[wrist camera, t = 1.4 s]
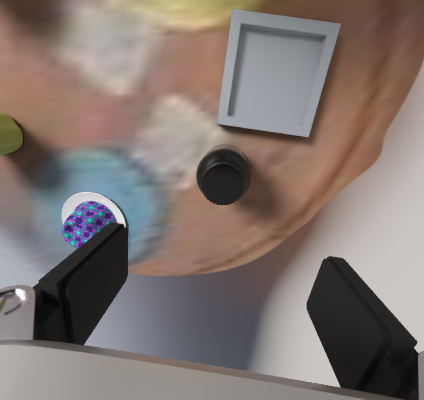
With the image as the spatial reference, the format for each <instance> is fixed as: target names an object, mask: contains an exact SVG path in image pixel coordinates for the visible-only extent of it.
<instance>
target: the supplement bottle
mask: <svg viewBox="0 0 424 400" xmlns="http://www.w3.org/2000/svg"><path fill="white" fill-rule="evenodd" d="M196 179H197V184H198V186H199V189H200V190H201V192H202V193H203V194H204V196H205V197H206V198H207V199H208V200H209V201H210V202H213V203H214V204H217V205H228V204H231V203H234V202H235V201H237V200H238V199H239V198H240V197H242V196H243V195H244V194H245V192H246V191H247V189H248V188H249V185H250V182H251V170H250V166H249V164H248V162H247V160H246V158H245V156H244V155H243V153H242V152H241V151H240V150H239V149H238V148H236V147H235V146H232V145H228V144H222V145H218V146H215V147H213V148H212V149H211V150H210V151H209V152H208V153H207V154H206V155H205V156H204V157H203V159H202V160H201V162H200V163H199V165H198V168H197V173H196Z"/></svg>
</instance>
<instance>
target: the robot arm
mask: <svg viewBox="0 0 424 400" xmlns="http://www.w3.org/2000/svg"><path fill="white" fill-rule="evenodd" d="M127 276H128V229H127V228H126V227H125V226H124V224H121V223H114V222H110V223H109V224H107V225H106V226H105V227H104V228H102V229H101V230H100V231H99V232H98V233H96V234H95V235H94V236H93V237H91V238H90V239H89V240H88V241H87V242H85V243H84V244H83V245H82V246H80V247H79V248H78V249H77V250H75V251H74V252H73V253H72V254H71V255H69V256H68V257H67V258H66V259H64V260H63V261H62V262H61V263H60V264H58V265H57V266H56V267H55V268H53V269H52V270H51V271H50V272H49V273H47V274H46V275H45V276H44V277H42V278H41V279H40V280H39V283H38V284H37V285H35V286H34V287H33V288H31V287H29V286H25V285H16V286H10V287H6V288H3V289H0V400H424V351H423V352H420V353H418V352H417V351H416V350H415V349H414V347H415V345H416V344H417V341H416V340H415V339H414V337H413V336H412V335H411V334H410V333H409V332H408V331H407V330H406V328H405V327H404V326H403V325H402V324H401V323H400V322H399V321H398V319H397V318H396V317H395V316H394V315H393V314H392V313H391V312H390V310H389V309H388V308H387V307H386V306H385V305H384V304H383V302H382V301H381V300H380V299H379V298H378V297H377V296H376V295H375V293H374V292H373V291H372V290H371V289H370V288H369V287H368V285H366V283H365V282H364V281H363V280H362V279H361V278H360V277H359V275H358V274H357V273H356V272H355V271H354V270H353V269H352V267H351V266H350V265H349V264H348V263H347V262H346V261H345V260H344V259H343V258H338V257H332V256H329V257H327V259H324V260H323V262H322V264H321V267H320V269H319V272H318V275H317V277H316V280H315V283H314V285H313V288H312V290H311V293H310V296H309V298H308V301H307V311H308V313H309V315H310V318H311V320H312V322H313V325H314V327H315V329H316V332H317V334H318V336H319V338H320V341H321V343H322V345H323V348H324V350H325V352H326V354H327V357H328V359H329V362H330V364H331V366H332V368H333V371H334V373H335V375H336V378H337V380H338V382H339V384H340V387H341V388H340V387H333V386H328V385H323V384H317V383H311V382H305V381H300V380H293V379H288V378H282V377H277V376H270V375H264V374H259V373H253V372H247V371H241V370H235V369H229V368H223V367H217V366H211V365H205V364H199V363H193V362H187V361H181V360H175V359H169V358H162V357H156V356H150V355H144V354H138V353H132V352H125V351H118V350H113V349H106V348H99V347H92V346H85V345H84V344H85V342H86V341H87V339H88V338H89V336H90V335H91V333H92V332H93V330H94V329H95V327H96V326H97V324H98V322H99V321H100V319H101V318H102V316H103V315H104V313H105V312H106V310H107V309H108V307H109V306H110V304H111V303H112V301H113V300H114V298H115V297H116V295H117V294H118V292H119V291H120V289H121V287H122V286H123V284H124V283H125V281H126V279H127Z"/></svg>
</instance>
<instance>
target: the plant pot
mask: <svg viewBox="0 0 424 400" xmlns="http://www.w3.org/2000/svg"><path fill="white" fill-rule="evenodd" d="M22 142H23V135H22V131H21V129H20V128H19V127H18V126H17V125H16V123H15V122H14V120H13V119H12V118H11V117H10V116H8V115H6V114H4V113H0V155H3V154H7V153H10V152H14V151H16V150H17V149H19V148H20V147H21V145H22Z"/></svg>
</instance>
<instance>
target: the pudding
mask: <svg viewBox="0 0 424 400" xmlns="http://www.w3.org/2000/svg"><path fill="white" fill-rule="evenodd" d="M85 201H91V202H88V203H87V204H86V205H85V204H80V203H82V202H85ZM93 201H96V202H99V203H102V204H104V205H105V206H104V205H98V204H97V203H96V202H93ZM79 204H80V205H79ZM77 206H78V207H77ZM106 206H107V207H108V208H109V209H110V210H111V211H112V212H113V214H114V215H115V217H116V219H115V217H114V216H113V215H111V214H110V210H109V209H108V208H107V207H106ZM76 207H77V208H76ZM75 208H76V209H75ZM116 220H117V223H121V224H124V226H125V227H126V224H125V219H124V217H123V215H122V213H121V211H120V210H119V208H118V207H117V206H116V205H115V204H114V203H113V202H112V201H110V200H109V199H107V198H106V197H104V196H102V195H100V194H96V193H92V192H81V193H77V194H75V195H73V196H71V197H70V198H69V199H68V200H67V201H66V202H65V204H64V206H63V209H62V221H63V224H64V226H63V227H62V230H61V232H62V234H63V235H64V239H65V241H66V242H67V243H69V244H71V245H72V246H73V247H74V248H77V249H78V248H79V247H80V246H82V245H83V244H84V243H85V242H87V241H88V240H89V239H90V238H91V237H93V236H94V235H95V234H96V233H98V232H99V231H100V230H101V229H102V228H104V227H105V226H106V225H107V224H109V223H110V222H114V223H116Z"/></svg>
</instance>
